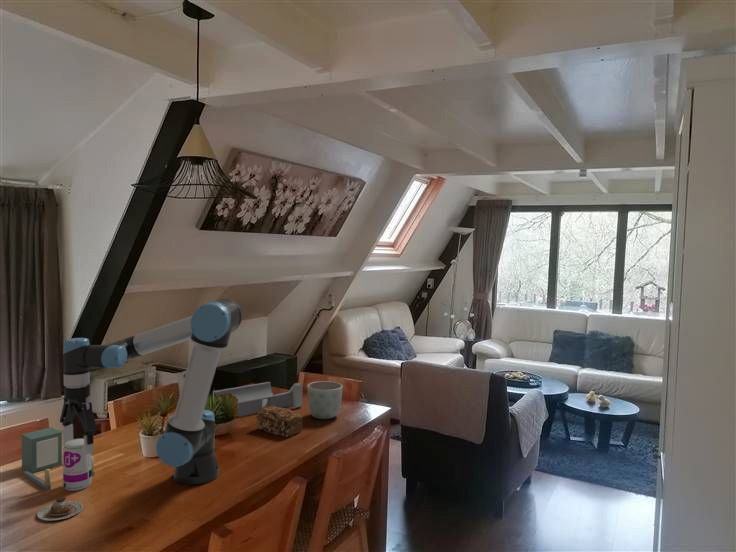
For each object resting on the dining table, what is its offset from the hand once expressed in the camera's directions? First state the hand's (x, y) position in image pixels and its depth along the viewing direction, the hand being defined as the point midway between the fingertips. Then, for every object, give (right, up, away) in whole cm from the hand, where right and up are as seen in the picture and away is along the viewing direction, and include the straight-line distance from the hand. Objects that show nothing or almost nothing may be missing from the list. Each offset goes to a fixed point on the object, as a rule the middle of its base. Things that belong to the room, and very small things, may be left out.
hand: (78, 449), depth 179 cm
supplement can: (-1, -13, +1) cm, 13 cm away
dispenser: (-15, -12, +11) cm, 22 cm away
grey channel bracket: (+40, -10, +96) cm, 104 cm away
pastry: (+4, -14, -17) cm, 22 cm away
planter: (+75, -11, +82) cm, 111 cm away
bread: (+57, -12, +60) cm, 83 cm away
